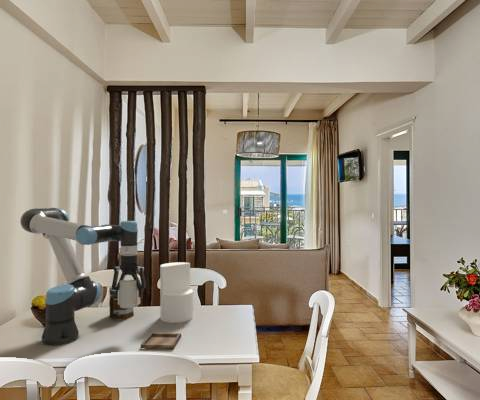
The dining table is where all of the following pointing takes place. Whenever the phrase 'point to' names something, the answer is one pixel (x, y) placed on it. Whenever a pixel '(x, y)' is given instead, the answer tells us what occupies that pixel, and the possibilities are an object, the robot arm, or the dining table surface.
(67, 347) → the dining table surface
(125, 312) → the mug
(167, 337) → the tray
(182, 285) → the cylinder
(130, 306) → the grey upright rounded piece
